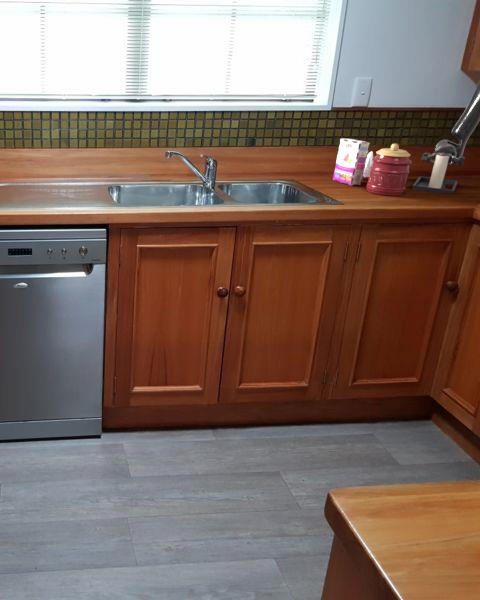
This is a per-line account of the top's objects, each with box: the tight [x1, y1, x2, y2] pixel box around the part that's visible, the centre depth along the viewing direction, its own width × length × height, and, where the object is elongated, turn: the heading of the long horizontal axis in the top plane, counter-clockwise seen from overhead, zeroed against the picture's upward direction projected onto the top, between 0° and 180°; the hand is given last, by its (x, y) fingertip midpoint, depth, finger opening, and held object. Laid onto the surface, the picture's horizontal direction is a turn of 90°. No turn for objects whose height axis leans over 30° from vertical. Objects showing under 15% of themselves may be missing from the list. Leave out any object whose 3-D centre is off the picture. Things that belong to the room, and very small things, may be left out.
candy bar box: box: [332, 138, 371, 187], centre depth 235 cm, size 11×5×16 cm, turn 17°
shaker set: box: [362, 151, 374, 180], centre depth 244 cm, size 12×4×11 cm, turn 108°
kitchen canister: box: [365, 143, 412, 197], centre depth 221 cm, size 13×13×18 cm
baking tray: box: [411, 176, 459, 195], centre depth 234 cm, size 14×22×2 cm, turn 146°
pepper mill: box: [429, 152, 450, 188], centre depth 232 cm, size 4×4×13 cm
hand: (441, 161), depth 229 cm, fingers open, 8 cm apart
